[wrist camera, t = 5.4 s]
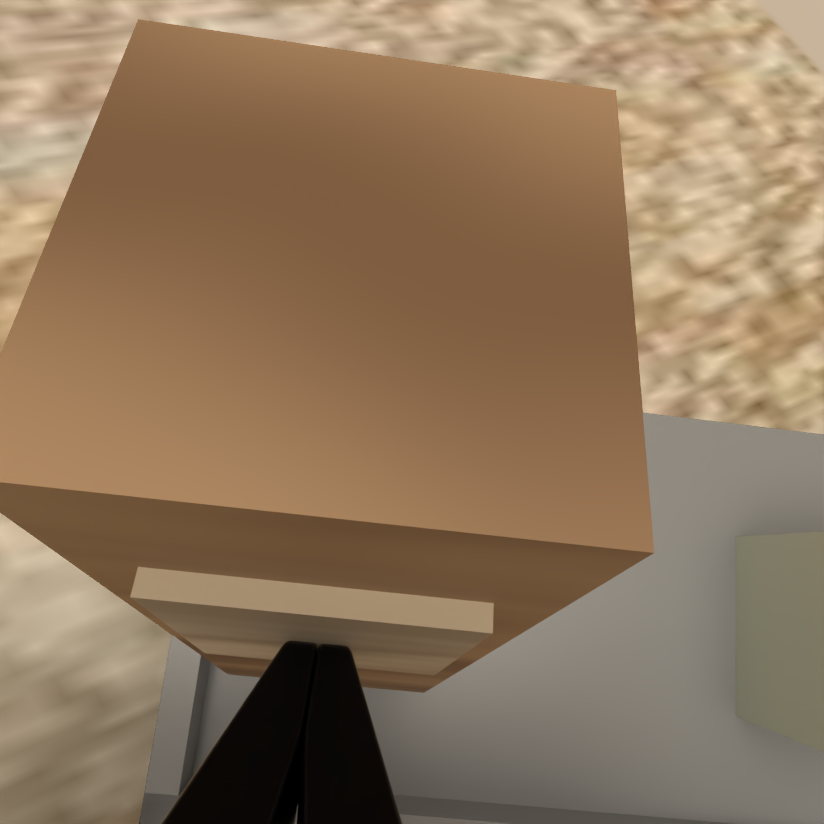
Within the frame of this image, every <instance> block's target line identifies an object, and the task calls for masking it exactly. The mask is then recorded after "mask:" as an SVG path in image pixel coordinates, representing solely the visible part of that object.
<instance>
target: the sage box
mask: <svg viewBox="0 0 824 824" xmlns="http://www.w3.org/2000/svg"><path fill="white" fill-rule="evenodd" d="M735 543H736V716H737V717H739V718H742V719H744V720H747V721H749V722H752V723H754V724H757V725H759V726H761V727H764V728H766V729H769V730H771V731H774V732H776V733H778V734H781V735H783V736H786V737H788V738H791V739H793V740H796V741H798V742H800V743H803V744H805V745H808V746H810V747H813V748H815V749H817V750H820V751H822V752H824V531H822V532H805V533H789V534H772V535H755V536H739V537H735Z"/></svg>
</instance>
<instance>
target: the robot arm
mask: <svg viewBox="0 0 824 824" xmlns="http://www.w3.org/2000/svg"><path fill="white" fill-rule="evenodd" d="M297 807H298V812H297ZM296 813H297V824H402V820H401V817H400V814H399V810H398V807H397V804H396V800H395V797H394V793H393V790H392V787H391V783H390V780H389V776H388V773H387V770H386V766H385V763H384V760H383V756H382V753H381V749H380V746H379V743H378V739H377V736H376V732H375V729H374V726H373V722H372V719H371V716H370V712H369V709H368V705H367V702H366V699H365V695H364V692H363V688H362V685H361V682H360V678H359V675H358V672H357V668H356V665H355V661H354V658H353V655H352V652H351V650H350V648H349V647H347V646H341V645H331V644H321V645H320V646H319V647H318V650H317V646H316V644H314V643H310V642H300V641H287V642H285V643H284V644H283V645H282V647H281V648H280V650H279V651H278V652H277V654H276V655H275V657H274V658H273V660H272V661H271V663H270V664H269V666H268V667H267V669H266V670H265V672H264V673H263V674H262V676H261V677H260V679H259V680H258V682H257V683H256V685H255V686H254V688H253V689H252V691H251V692H250V694H249V695H248V697H247V698H246V699H245V701H244V702H243V704H242V705H241V707H240V708H239V710H238V711H237V713H236V714H235V716H234V717H233V719H232V720H231V721H230V723H229V724H228V726H227V727H226V729H225V730H224V732H223V733H222V735H221V736H220V738H219V739H218V741H217V742H216V744H215V745H214V746H213V748H212V749H211V751H210V752H209V754H208V755H207V757H206V758H205V760H204V761H203V763H202V764H201V766H200V767H199V768H198V770H197V771H196V773H195V774H194V776H193V777H192V779H191V780H190V782H189V783H188V785H187V786H186V788H185V789H184V790H183V792H182V793H181V795H180V796H179V798H178V799H177V801H176V802H175V804H174V805H173V807H172V808H171V810H170V811H169V813H168V814H167V815H166V817H165V818H164V820H163V821H162V823H161V824H295V819H296Z"/></svg>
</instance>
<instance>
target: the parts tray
mask: <svg viewBox="0 0 824 824" xmlns="http://www.w3.org/2000/svg"><path fill="white" fill-rule="evenodd" d="M643 422H644V435H645V447H646V459H647V471H648V483H649V495H650V507H651V519H652V531H653V543H654V553H653V554H652V555H650V556H649V557H647V558H645V559H644V560H642V561H640V562H639V563H637V564H635V565H634V566H632V567H630V568H629V569H627V570H625V571H624V572H622V573H620V574H619V575H617V576H616V577H614V578H612V579H611V580H609V581H607V582H606V583H604V584H602V585H601V586H599V587H597V588H596V589H594V590H592V591H591V592H589V593H588V594H586V595H584V596H583V597H581V598H579V599H578V600H576V601H574V602H573V603H571V604H569V605H568V606H566V607H564V608H563V609H561V610H560V611H558V612H556V613H555V614H553V615H551V616H550V617H548V618H546V619H545V620H543V621H541V622H540V623H538V624H536V625H535V626H533V627H532V628H530V629H528V630H527V631H525V632H523V633H522V634H520V635H518V636H517V637H515V638H513V639H512V640H510V641H508V642H507V643H505V644H504V645H502V646H500V647H499V648H497V649H495V650H494V651H492V652H490V653H489V654H487V655H485V656H484V657H482V658H480V659H479V660H477V661H476V662H474V663H472V664H471V665H469V666H467V667H466V668H464V669H462V670H461V671H459V672H457V673H456V674H454V675H452V676H451V677H449V678H448V679H446V680H444V681H443V682H441V683H439V684H438V685H436V686H434V687H433V688H431V689H429V690H428V691H426V692H424V693H421V692H410V691H399V690H389V689H378V688H367V687H362V688H363V692H364V695H365V699H366V702H367V705H368V709H369V712H370V716H371V719H372V722H373V726H374V729H375V732H376V736H377V739H378V743H379V746H380V749H381V753H382V756H383V760H384V763H385V766H386V770H387V773H388V776H389V780H390V783H391V787H392V790H393V793H394V797H395V800H396V804H397V807H398V810H399V814H400V817H401V820H402V824H824V752H822V751H820V750H817V749H815V748H813V747H810V746H808V745H805V744H803V743H800V742H798V741H796V740H793V739H791V738H788V737H786V736H783V735H781V734H778V733H776V732H774V731H771V730H769V729H766V728H764V727H761V726H759V725H757V724H754V723H752V722H749V721H747V720H744V719H742V718H739V717H737V716H736V543H735V537H739V536H755V535H772V534H789V533H805V532H822V531H824V435H823V434H815V433H807V432H798V431H790V430H782V429H773V428H765V427H757V426H748V425H740V424H732V423H724V422H715V421H707V420H699V419H690V418H682V417H674V416H665V415H657V414H649V413H643ZM259 679H260V677H250V676H240V675H229V674H227V673H225V672H224V671H222V670H221V669H220V668H218V667H217V666H215V665H214V664H212V663H211V662H210V661H208V660H207V659H205V658H204V657H203V656H201V655H200V654H198V653H197V652H196V651H194V650H193V649H191V648H190V647H189V646H187V645H186V644H184V643H183V642H182V641H180V640H179V639H177V638H176V637H175V636H173V635H172V636H171V642H170V647H169V653H168V659H167V665H166V671H165V677H164V682H163V688H162V694H161V700H160V706H159V711H158V717H157V723H156V729H155V735H154V741H153V746H152V752H151V758H150V764H149V770H148V775H147V781H146V787H145V793H144V799H143V804H142V810H141V816H140V822H139V824H161V823H162V821H163V820H164V818H165V817H166V815H167V814H168V813H169V811H170V810H171V808H172V807H173V805H174V804H175V802H176V801H177V799H178V798H179V796H180V795H181V793H182V792H183V790H184V789H185V788H186V786H187V785H188V783H189V782H190V780H191V779H192V777H193V776H194V774H195V773H196V771H197V770H198V768H199V767H200V766H201V764H202V763H203V761H204V760H205V758H206V757H207V755H208V754H209V752H210V751H211V749H212V748H213V746H214V745H215V744H216V742H217V741H218V739H219V738H220V736H221V735H222V733H223V732H224V730H225V729H226V727H227V726H228V724H229V723H230V721H231V720H232V719H233V717H234V716H235V714H236V713H237V711H238V710H239V708H240V707H241V705H242V704H243V702H244V701H245V699H246V698H247V697H248V695H249V694H250V692H251V691H252V689H253V688H254V686H255V685H256V683H257V682H258V680H259ZM297 812H298V807H297ZM295 824H297V813H296V819H295Z"/></svg>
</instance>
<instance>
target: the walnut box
mask: <svg viewBox="0 0 824 824" xmlns="http://www.w3.org/2000/svg"><path fill="white" fill-rule="evenodd" d="M0 513H2V514H3V515H5V516H6V517H7V518H9V519H10V520H12V521H13V522H14V523H16V524H17V525H19V526H20V527H21V528H23V529H24V530H26V531H27V532H28V533H30V534H31V535H33V536H34V537H35V538H37V539H38V540H40V541H41V542H42V543H44V544H45V545H47V546H48V547H49V548H51V549H52V550H54V551H55V552H57V553H58V554H59V555H61V556H62V557H64V558H65V559H66V560H68V561H69V562H71V563H72V564H73V565H75V566H76V567H78V568H79V569H80V570H82V571H83V572H85V573H86V574H87V575H89V576H90V577H92V578H93V579H94V580H96V581H97V582H99V583H100V584H101V585H103V586H104V587H106V588H107V589H109V590H110V591H111V592H113V593H114V594H116V595H117V596H118V597H120V598H121V599H123V600H124V601H125V602H127V603H128V604H130V605H131V606H132V607H134V608H135V609H137V610H138V611H139V612H141V613H142V614H144V615H145V616H146V617H148V618H149V619H151V620H152V621H153V622H155V623H156V624H158V625H159V626H160V627H162V628H163V629H165V630H166V631H168V632H169V633H170V634H172V635H173V636H175V637H176V638H177V639H179V640H180V641H182V642H183V643H184V644H186V645H187V646H189V647H190V648H191V649H193V650H194V651H196V652H197V653H198V654H200V655H201V656H203V657H204V658H205V659H207V660H208V661H210V662H211V663H212V664H214V665H215V666H217V667H218V668H220V669H221V670H222V671H224V672H225V673H227V674H229V675H240V676H250V677H261V676H262V674H263V673H264V672H265V670H266V669H267V667H268V666H269V664H270V663H271V661H272V660H273V658H274V657H275V655H276V654H277V652H278V651H279V650H280V648H281V647H282V645H283V644H284V643H285V642H287V641H300V642H310V643H314V644H316V646H317V650H318V647H319V646H320V645H321V644H331V645H341V646H347V647H349V648H350V650H351V652H352V655H353V658H354V661H355V665H356V668H357V672H358V675H359V678H360V682H361V685H362V687H367V688H378V689H389V690H399V691H410V692H421V693H424V692H426V691H428V690H429V689H431V688H433V687H434V686H436V685H438V684H439V683H441V682H443V681H444V680H446V679H448V678H449V677H451V676H452V675H454V674H456V673H457V672H459V671H461V670H462V669H464V668H466V667H467V666H469V665H471V664H472V663H474V662H476V661H477V660H479V659H480V658H482V657H484V656H485V655H487V654H489V653H490V652H492V651H494V650H495V649H497V648H499V647H500V646H502V645H504V644H505V643H507V642H508V641H510V640H512V639H513V638H515V637H517V636H518V635H520V634H522V633H523V632H525V631H527V630H528V629H530V628H532V627H533V626H535V625H536V624H538V623H540V622H541V621H543V620H545V619H546V618H548V617H550V616H551V615H553V614H555V613H556V612H558V611H560V610H561V609H563V608H564V607H566V606H568V605H569V604H571V603H573V602H574V601H576V600H578V599H579V598H581V597H583V596H584V595H586V594H588V593H589V592H591V591H592V590H594V589H596V588H597V587H599V586H601V585H602V584H604V583H606V582H607V581H609V580H611V579H612V578H614V577H616V576H617V575H619V574H620V573H622V572H624V571H625V570H627V569H629V568H630V567H632V566H634V565H635V564H637V563H639V562H640V561H642V560H644V559H645V558H647V557H649V556H650V555H652V554H653V553H654V543H653V531H652V519H651V507H650V495H649V483H648V471H647V459H646V447H645V435H644V422H643V410H642V398H641V386H640V374H639V362H638V350H637V338H636V326H635V314H634V302H633V290H632V278H631V266H630V254H629V242H628V230H627V218H626V206H625V194H624V182H623V170H622V158H621V145H620V133H619V121H618V109H617V97H616V90H609V89H603V88H596V87H589V86H583V85H576V84H569V83H562V82H556V81H549V80H542V79H535V78H529V77H522V76H515V75H509V74H502V73H495V72H488V71H482V70H475V69H468V68H462V67H455V66H448V65H441V64H435V63H428V62H421V61H414V60H408V59H401V58H394V57H388V56H381V55H374V54H367V53H361V52H354V51H347V50H341V49H334V48H327V47H320V46H314V45H307V44H300V43H293V42H287V41H280V40H273V39H267V38H260V37H253V36H246V35H240V34H233V33H226V32H220V31H213V30H206V29H199V28H193V27H186V26H179V25H172V24H166V23H159V22H152V21H146V20H139V19H138V22H137V24H136V26H135V29H134V31H133V34H132V36H131V39H130V41H129V43H128V46H127V48H126V51H125V53H124V56H123V58H122V60H121V63H120V65H119V68H118V70H117V73H116V75H115V77H114V80H113V82H112V85H111V87H110V90H109V92H108V94H107V97H106V99H105V102H104V104H103V107H102V109H101V111H100V114H99V116H98V119H97V121H96V124H95V126H94V128H93V131H92V133H91V136H90V138H89V141H88V143H87V145H86V148H85V150H84V153H83V155H82V158H81V160H80V162H79V165H78V167H77V170H76V172H75V175H74V177H73V179H72V182H71V184H70V187H69V189H68V192H67V194H66V196H65V199H64V201H63V204H62V206H61V209H60V211H59V213H58V216H57V218H56V221H55V223H54V226H53V228H52V230H51V233H50V235H49V238H48V240H47V243H46V245H45V247H44V250H43V252H42V255H41V257H40V260H39V262H38V264H37V267H36V269H35V272H34V274H33V277H32V279H31V281H30V284H29V286H28V289H27V291H26V294H25V296H24V298H23V301H22V303H21V306H20V308H19V311H18V313H17V315H16V318H15V320H14V323H13V325H12V328H11V330H10V332H9V335H8V337H7V340H6V342H5V345H4V347H3V349H2V352H1V354H0Z"/></svg>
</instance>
